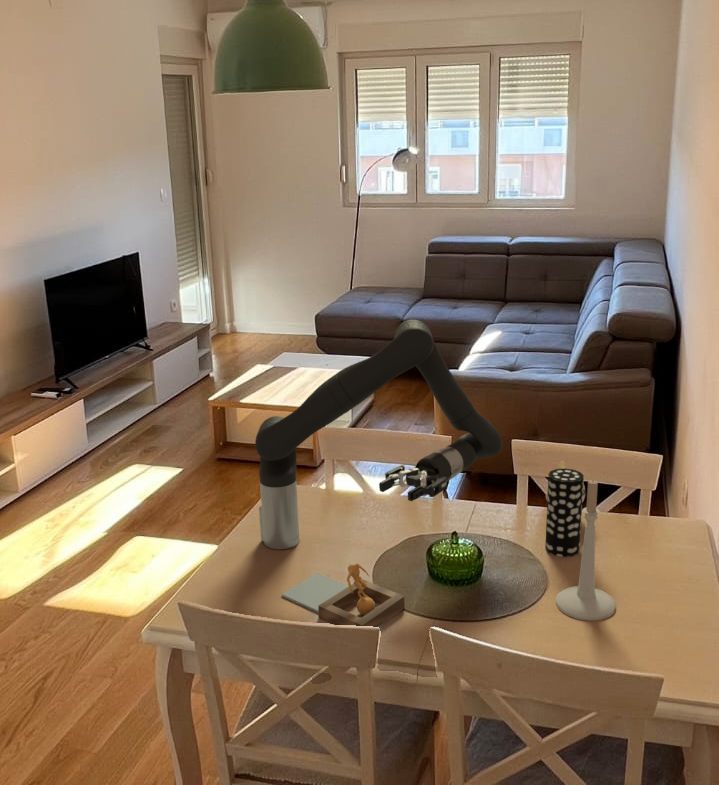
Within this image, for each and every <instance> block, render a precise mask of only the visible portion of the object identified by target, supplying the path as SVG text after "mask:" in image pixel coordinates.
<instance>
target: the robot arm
mask: <svg viewBox="0 0 719 785" xmlns="http://www.w3.org/2000/svg"><path fill="white" fill-rule="evenodd" d="M414 367H416V368H417V369H418V371H419V372H420V373H421V376H422V377H423V379H424V380H425V381H426V383H427V384H428V387H429V389H430V391H431V394H433V397H434V398H435V400H436V402H437V404H438V406H439V407H440V409H441V411H442V412H443V413H444V415H445V417H446V418H447V420H448V421H449V422H450V424H451V426H452V427H453V428H454V429H455V430H457V431H461V432H462V431H463V432H467V433H464V434H462V435H461V436H460V437H458V438H457V440H455V441H454V442H453V443H451V444H448V445H447V446H445V447H442V448H440V449H438V450H437V449H436V450H434V452H431V453H430V454H428V455H426V456H424V457H423V458H421V459H419V460H418V461H417V463H416V465H415V466H414V467H412V468H409V469H406V468H405V464H400V465H399V466H396V467H393V468H392V469H390V470H388V471H386V472H385V473H384V476H385V479H384V480H382V481H380V482H379V483H378V488H379V491H380V492H382V493H384V492H386V491H388V490H389V489H391V488H393V487H396V486H397V487H398V486H400V487H401V488H404V487H414V488H412V489H411V490H409V491H408V492H407V500H408V501H409V502H413V501H415V500H418V499H419V498H421V497H426V496H429V498H434V497H436V496H437V495H439V494H440V493H442V492H443V491H445V490H447V488H448V487H447V486H448V485H447V484H448V482H449V481H450V480H452V479H453V478H455V477H456V476H458V475H459V474H461V473H462V472H465V471H466V470H467V469H469V468H470V467H472V465H474V463H475V461H477V460H479V459H484V458H490V457H493V456H497V455H498V454H499V453H501V451H502V449H503V445H504V444H503V438H502V435H501V434H500V433H501V432H500V431H499V430H498V429H497V428H496V426H494V424H492V423H491V422H490V421H489V420H488V419H487V418H486V417H485V416H483V415H482V414H481V413H480V412H479V411H478V410H477V409H476V407H475V406H474V404H473V403H472V401H471V400H470V398H469V397H468V395H467V394H466V392H465V391H464V389H463V388H462V386H461V385H460V384H459V382H458V381H457V379H456V378H455V377H454V375H453V373H452V372H451V371H450V369H449V368H448V366H447V364H446V363H445V361H444V360H443V357H442V355H441V354H440V352H439V350H438V347H437V346H436V343H435V341H434V338H433V334H432V332H431V329H430V328H429V326H428V325H427V324H426V323H424V322H423V321H421V320H418V319H408V320H405V321H403V322H401V324H399V326H397V328H396V330H395V333H394V338H393V339H392V340H391V341H390V342H389V343H388V344H386V345H385V346H384V347H382V348H381V349H380V350H379V351H378V352H376V353H375V354H374V355H372V356H370V357H368V358H366V359H363V360H360V361H358V362H354V363H353V364H350V365H349V366H346V367H345V368H343V369H341V370H339V371H337V372H336V373H335V374H333V375H332V376H331V377H330V378H328V379H326V380H325V381H324V382H323V383H321V384H320V385H319V386H318V387H317V388H316V389H315V390H314V391H313V392H311V394H310V395H309V396H308V397H307V398H306V399H305V400H304V401H303V402H302V403H301V404H300V405H299V406H298V407H297V409H295V410H294V411H292V412H291V413H289V414H288V415H287V416H284V417H283V416H280V415H279V416H270V417H268V418H266V419H265V420H264V421H263V422H262V423H261V425H260V426H259V429H258V431H257V434H256V436H255V442H254V443H255V450H256V453H257V454H258V456H259V458H260V459H259V472H258V474H259V477H258V478H259V486H260V487H259V488H260V500H261V506H259V508H258V512H259V525H260V540H261V542H263V545H265V547H267V548H269V549H272V550H287V549H292V548H293V547H295V546H297V545H298V544H299V542H300V523H299V505H298V485H297V448H298V447H299V446H300V445H302V444H303V443H304V442H305V441H306V440H308V439H309V437H311V436H312V435H314V434H315V433H316V432H318V431H319V430H321V429H323V428H325V427H327V426H329V425H330V424H331V423H333V422H334V421H336V420H338V418H340V417H341V416H343V415H345V414H347V413H348V412H350V411H351V410H353V409H354V408H356V406H358V405H360V404H361V403H362V402H363V401H365V400H366V399H368V398H369V397H370V396H372V395H373V394H375V392H377V391H379V389H382V388H383V386H385V385H386V384H387V383H388V382H390V381H391V380H393V379H394V378H396V377H398V376H401V375H402V374H403V373H405V372H407V371H408V370H410V369H413V368H414ZM404 477H405V481H404ZM397 480H398V481H397Z"/></svg>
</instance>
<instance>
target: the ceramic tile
mask: <svg viewBox="0 0 719 785" xmlns="http://www.w3.org/2000/svg"><path fill="white" fill-rule="evenodd" d="M347 587H349V585H348V584H344V583H343V582H339V581H337V580H335V579H332V578H330V577H328V576H326V575H323V574H320V573H318V572H317V573H315V574H313V575H311V576H309V577H308V578H306V579H305V580H303V581H301V582H300V583H298V584H296V585H294V586H292V587H291V588H290V589H288V590H285V591H284V592H282V593H281V597H282V598H285V599H287V600H289V601H290V602H293V603H296V604H298V605H300V606H302V607H304V608H307V609H308V610H311V611H313V612H315V613H317V614H319V609H318V606H319V605H320V604H322V603H323V602H325V601H326V600H328V599H330V598H331V597H333V596H334V595H336V594H338V593H339V592H341V591H342V590H344V589H345V588H347Z"/></svg>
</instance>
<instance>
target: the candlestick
mask: <svg viewBox="0 0 719 785" xmlns="http://www.w3.org/2000/svg"><path fill="white" fill-rule="evenodd" d="M598 485H599V482H598V481H597V480H594V479H589V480H588V481H587V491H586V507H584V508H583V507H582V512H583V513H584V516H583V517H584V519H585V521H586V524H585V525H584V535H583V536H584V537H583V544H582V552H581V561H580V568H579V569H580V571H579V579H578V585H575V586H569V587H567V588H565V589H562V590H561V591H560V592H558V593H557V595H556V598H555V604H556V607H557V608H558V609H559V611H561V612H562V613H563V614H565V615H567V616H569V617H571V618H574V619H578V620H582V621H601V620H605V619H607V618H610V617H611V616H613V614H614V613H615V612H616V605H617V604H616V601H615V600H614V598H613V597H612V596H611V595H610V594H608V593H607V592H605V591H603V590H601V589H599V588H596V586H595V585H596V584H595V583H596V582H595V580H596V577H595V576H596V574H595V573H596V572H595V570H596V567H595V566H596V565H595V562H596V560H595V558H596V556H595V554H596V547H595V546H596V544H595V543H596V542H595V541H596V531H595V530H596V525H595V522H596V520H598V514H600V513H601V511H600V509H598V507H597V502H598V501H597V500H598Z"/></svg>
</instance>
